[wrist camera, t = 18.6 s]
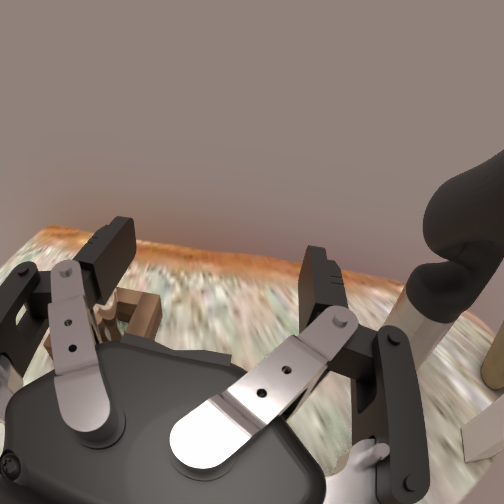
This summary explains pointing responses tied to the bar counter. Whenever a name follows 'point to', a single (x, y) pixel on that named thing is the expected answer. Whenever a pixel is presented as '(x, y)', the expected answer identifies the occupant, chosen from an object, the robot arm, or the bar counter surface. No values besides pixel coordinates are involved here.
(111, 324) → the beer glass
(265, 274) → the bar counter surface
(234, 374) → the robot arm
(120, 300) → the walnut well block
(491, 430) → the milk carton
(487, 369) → the plant pot
